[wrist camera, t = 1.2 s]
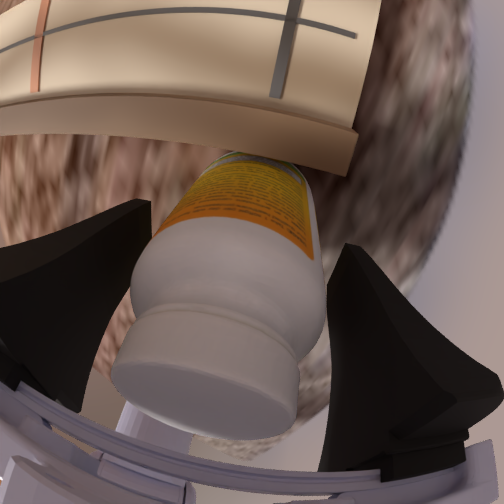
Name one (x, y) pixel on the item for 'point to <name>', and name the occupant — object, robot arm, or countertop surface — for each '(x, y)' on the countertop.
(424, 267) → the countertop surface
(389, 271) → the countertop surface
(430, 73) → the countertop surface
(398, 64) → the countertop surface
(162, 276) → the supplement bottle
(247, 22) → the board
